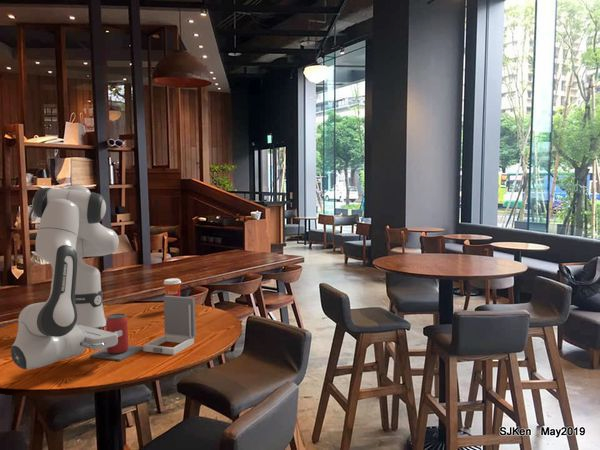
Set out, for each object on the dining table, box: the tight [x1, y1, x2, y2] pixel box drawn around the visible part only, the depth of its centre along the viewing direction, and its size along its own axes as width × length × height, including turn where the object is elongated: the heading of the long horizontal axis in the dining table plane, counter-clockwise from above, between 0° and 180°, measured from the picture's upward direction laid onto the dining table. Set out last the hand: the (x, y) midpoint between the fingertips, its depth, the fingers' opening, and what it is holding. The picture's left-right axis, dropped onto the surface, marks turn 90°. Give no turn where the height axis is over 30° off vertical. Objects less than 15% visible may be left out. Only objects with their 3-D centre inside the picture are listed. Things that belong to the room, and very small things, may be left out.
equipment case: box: [142, 295, 197, 356], centre depth 160 cm, size 12×14×16 cm
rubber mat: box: [89, 344, 143, 362], centre depth 156 cm, size 12×12×1 cm
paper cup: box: [163, 278, 182, 297], centre depth 210 cm, size 8×8×14 cm
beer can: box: [105, 313, 129, 354], centre depth 155 cm, size 7×7×12 cm
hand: (111, 330), depth 153 cm, fingers open, 8 cm apart
